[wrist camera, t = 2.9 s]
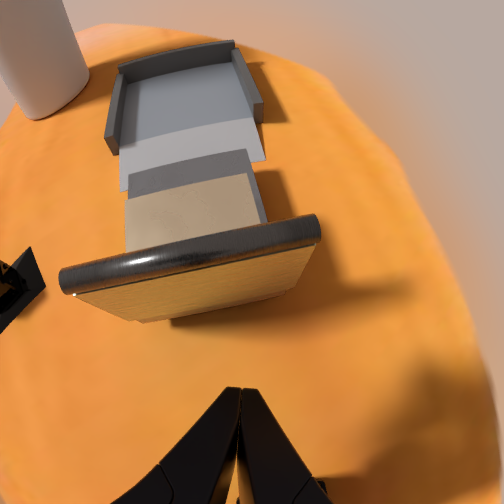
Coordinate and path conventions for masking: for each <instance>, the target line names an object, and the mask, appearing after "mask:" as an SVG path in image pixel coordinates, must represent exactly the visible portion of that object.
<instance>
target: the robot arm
mask: <svg viewBox="0 0 504 504" xmlns="http://www.w3.org/2000/svg"><path fill="white" fill-rule="evenodd" d="M241 395H242V398H241ZM240 408H241V410H240ZM239 420H240V422H239ZM238 433H239V435H238ZM237 445H238V447H237ZM236 455H237V473H238V486H239V497H238V498H237V501H236V503H237V504H334V503H333V502H332V501H331V500H330V498H329V497H328V495H327V491H326V486H325V483H324V481H323V480H321V479H315V478H314V477H312V474H311V472H310V471H309V469H308V468H307V466H306V465H305V463H304V462H303V461H302V459H301V457H300V456H299V454H298V453H297V451H296V450H295V448H294V447H293V445H292V444H291V442H290V441H289V439H288V438H287V436H286V434H285V433H284V431H283V430H282V428H281V426H280V425H279V423H278V422H277V420H276V418H275V417H274V415H273V414H272V412H271V410H270V409H269V407H268V405H267V404H266V402H265V400H264V399H263V397H262V395H261V394H260V392H259V391H258V390H257V389H252V388H243V389H241V388H239V387H226V388H225V389H224V390H223V392H222V393H221V394H220V395H219V396H218V397H217V399H216V400H215V401H214V402H213V403H212V404H211V406H210V407H209V408H208V409H207V410H206V411H205V413H204V414H203V415H202V416H201V417H200V418H199V419H198V420H197V422H196V423H195V424H194V425H193V426H192V427H191V428H190V429H189V431H188V432H187V433H186V434H185V435H184V436H183V437H182V438H181V439H180V440H179V442H178V443H177V444H176V445H175V446H174V447H173V448H172V449H171V450H170V451H169V452H168V453H167V454H166V455H165V456H164V458H163V459H162V460H161V461H160V462H159V464H157V465H156V466H155V467H154V468H153V469H152V470H151V471H150V472H149V473H148V474H147V475H146V476H145V477H143V478H142V479H141V480H140V481H139V482H138V483H137V484H136V485H135V486H134V487H132V488H131V489H130V490H128V491H127V492H126V493H124V494H123V495H122V496H120V497H119V498H118V499H116V500H115V501H113V502H112V503H110V504H225V503H226V499H227V495H228V491H229V487H230V483H231V479H232V475H233V471H234V467H235V462H236ZM318 483H320V485H319V484H318Z"/></svg>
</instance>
